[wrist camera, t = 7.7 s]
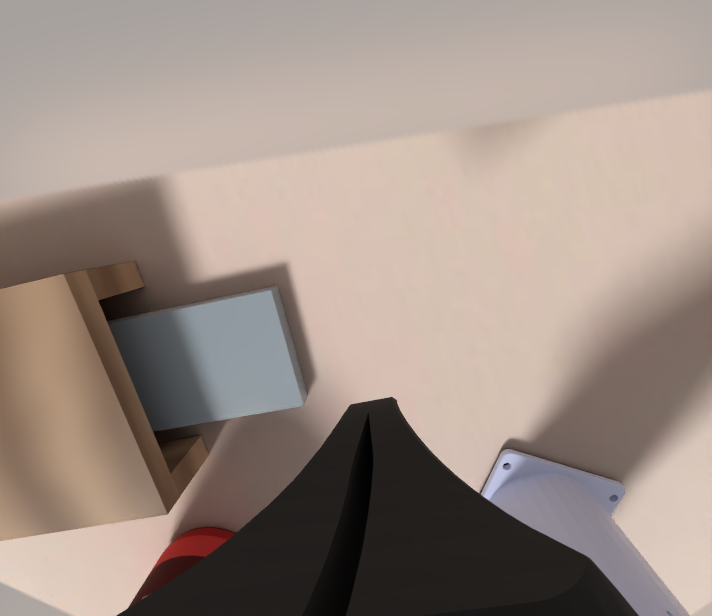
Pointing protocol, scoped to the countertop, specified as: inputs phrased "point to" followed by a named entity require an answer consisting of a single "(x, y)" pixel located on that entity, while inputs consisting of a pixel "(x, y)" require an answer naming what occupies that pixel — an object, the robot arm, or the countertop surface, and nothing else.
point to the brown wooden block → (77, 413)
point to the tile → (212, 359)
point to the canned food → (182, 557)
